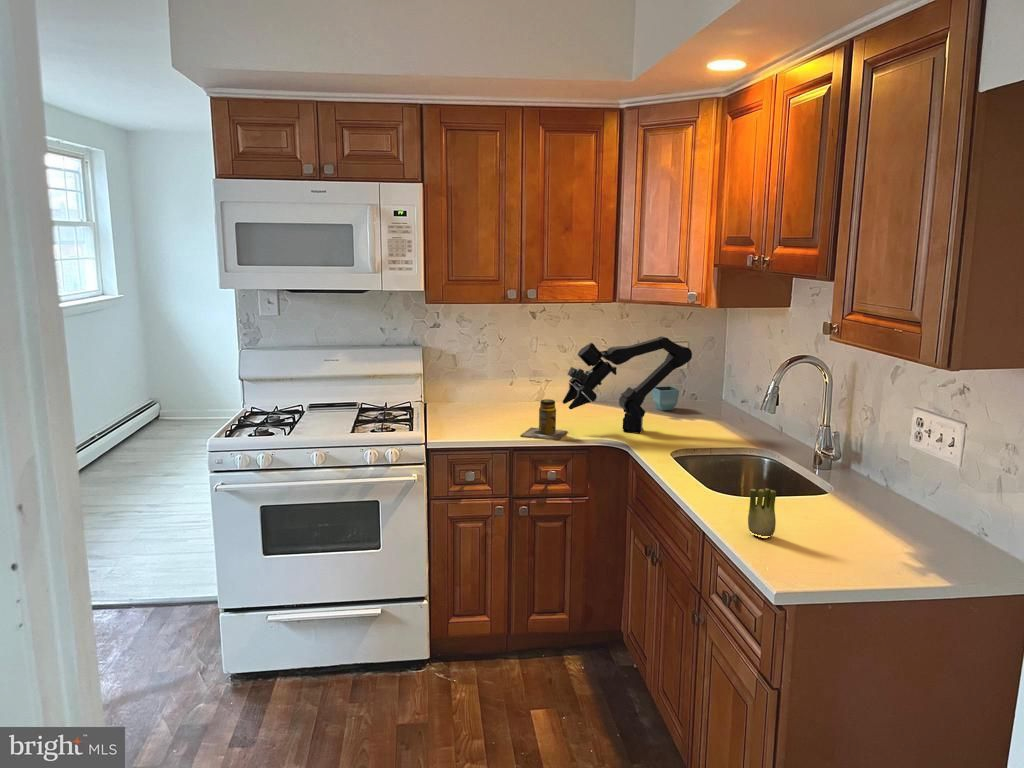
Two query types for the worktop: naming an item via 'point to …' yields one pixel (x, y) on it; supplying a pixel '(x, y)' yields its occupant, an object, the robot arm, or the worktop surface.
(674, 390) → the flower pot
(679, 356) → the robot arm
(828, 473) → the worktop surface
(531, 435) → the walnut coaster
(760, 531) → the fennel bulb
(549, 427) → the condiment
